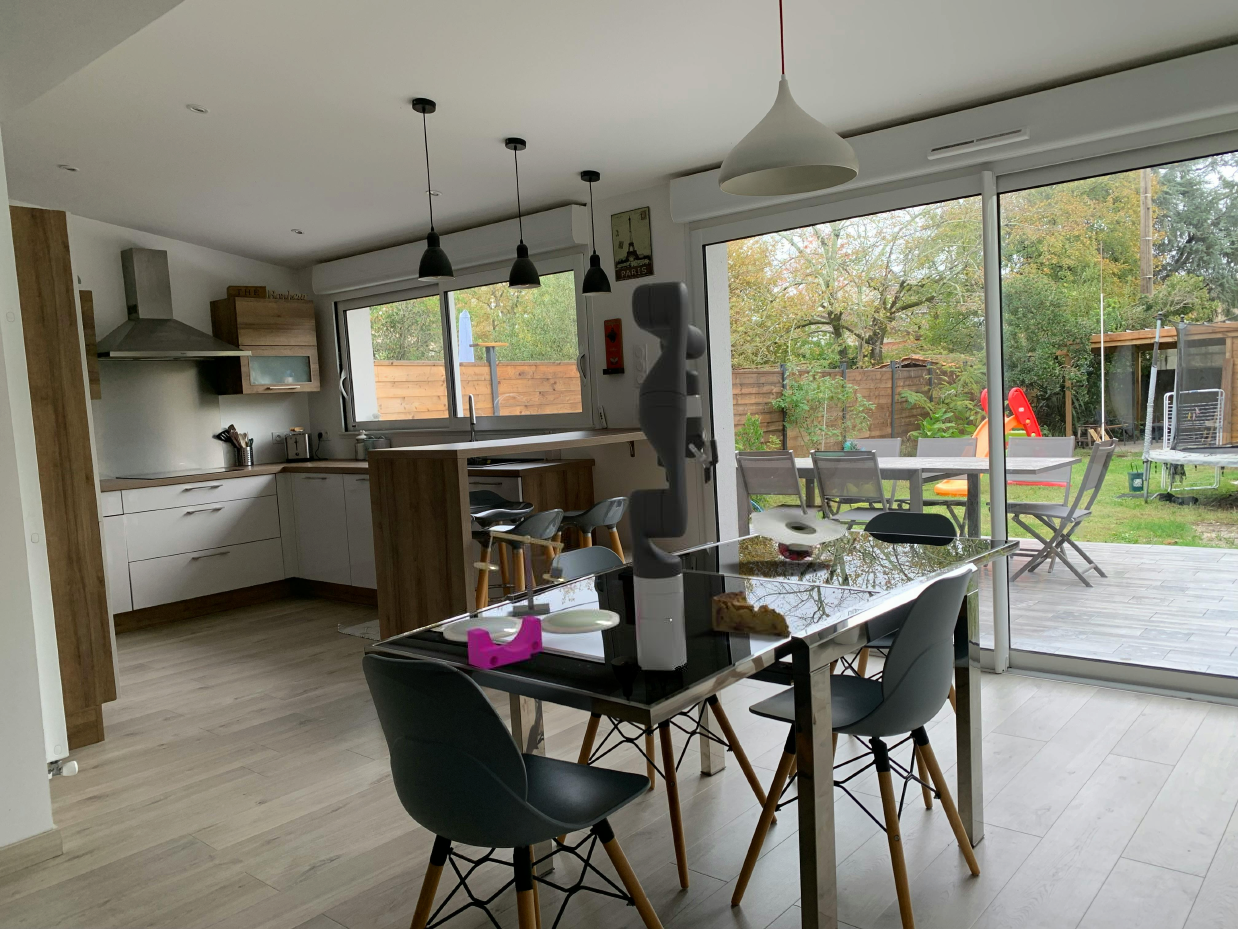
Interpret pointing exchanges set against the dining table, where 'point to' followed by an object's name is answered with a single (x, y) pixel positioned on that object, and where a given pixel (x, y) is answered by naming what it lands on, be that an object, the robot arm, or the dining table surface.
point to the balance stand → (530, 592)
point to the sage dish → (579, 621)
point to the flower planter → (796, 531)
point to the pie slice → (746, 616)
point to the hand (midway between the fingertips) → (688, 483)
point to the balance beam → (555, 570)
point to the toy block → (505, 645)
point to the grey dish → (483, 627)
